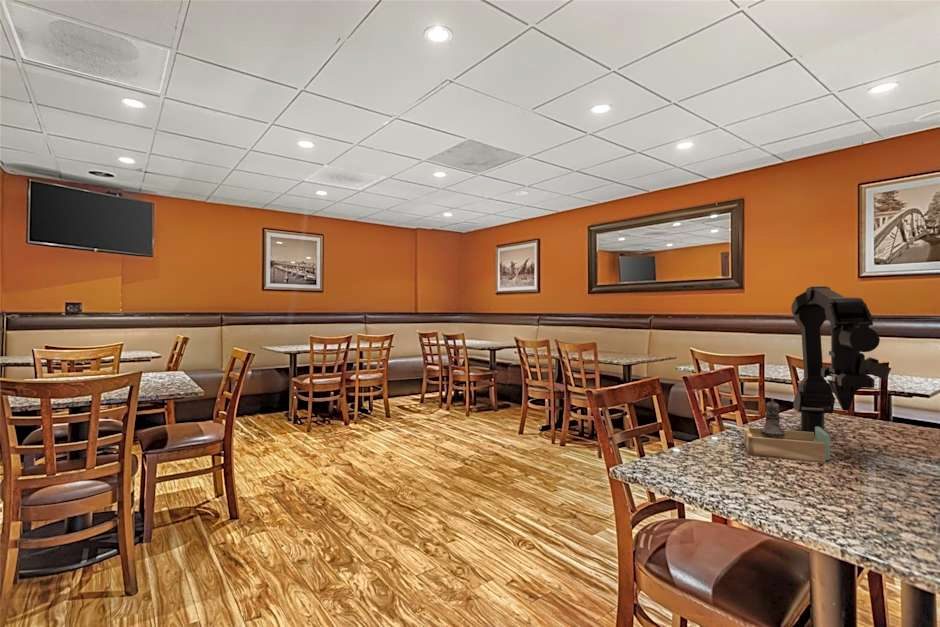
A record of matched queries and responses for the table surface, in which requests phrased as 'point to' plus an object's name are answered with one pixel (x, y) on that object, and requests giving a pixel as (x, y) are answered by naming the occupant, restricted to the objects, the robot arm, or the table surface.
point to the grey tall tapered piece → (772, 422)
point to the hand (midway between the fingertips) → (845, 410)
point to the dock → (784, 445)
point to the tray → (821, 440)
